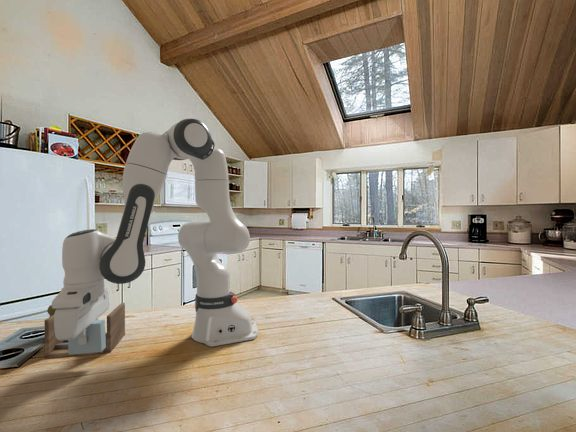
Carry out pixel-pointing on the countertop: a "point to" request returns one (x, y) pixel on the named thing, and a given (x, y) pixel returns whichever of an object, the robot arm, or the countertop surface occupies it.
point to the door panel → (90, 339)
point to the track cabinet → (61, 349)
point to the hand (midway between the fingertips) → (87, 339)
